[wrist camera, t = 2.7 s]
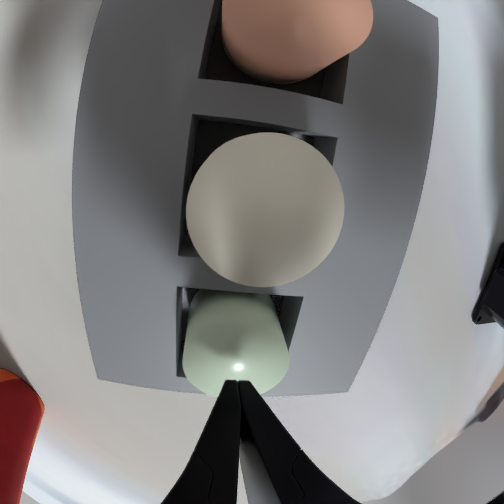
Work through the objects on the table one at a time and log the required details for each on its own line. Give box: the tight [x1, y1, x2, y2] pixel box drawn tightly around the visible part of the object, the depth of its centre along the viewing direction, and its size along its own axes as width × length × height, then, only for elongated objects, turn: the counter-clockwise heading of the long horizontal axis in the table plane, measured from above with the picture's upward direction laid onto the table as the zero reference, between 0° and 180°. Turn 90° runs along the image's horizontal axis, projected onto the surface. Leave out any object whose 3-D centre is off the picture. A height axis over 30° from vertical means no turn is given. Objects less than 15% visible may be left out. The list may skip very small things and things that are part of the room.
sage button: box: [182, 289, 290, 397], centre depth 12 cm, size 4×4×4 cm
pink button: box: [222, 0, 373, 84], centre depth 7 cm, size 4×4×4 cm
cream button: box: [186, 132, 345, 287], centre depth 9 cm, size 4×4×4 cm
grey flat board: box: [72, 0, 439, 396], centre depth 11 cm, size 13×19×2 cm
